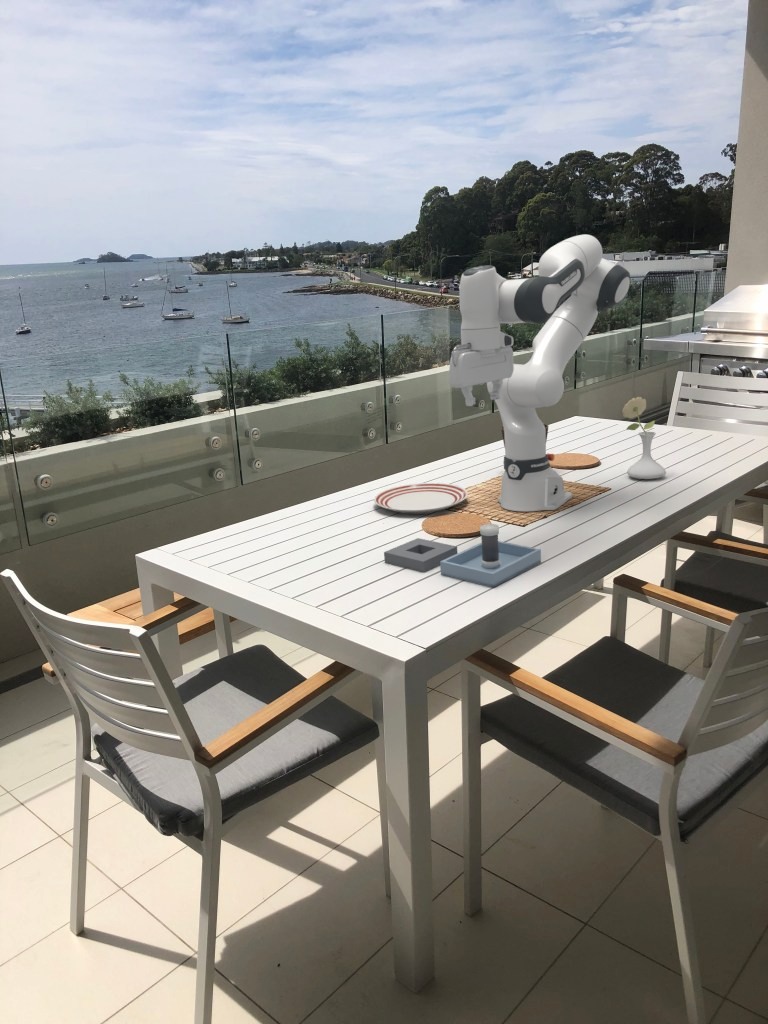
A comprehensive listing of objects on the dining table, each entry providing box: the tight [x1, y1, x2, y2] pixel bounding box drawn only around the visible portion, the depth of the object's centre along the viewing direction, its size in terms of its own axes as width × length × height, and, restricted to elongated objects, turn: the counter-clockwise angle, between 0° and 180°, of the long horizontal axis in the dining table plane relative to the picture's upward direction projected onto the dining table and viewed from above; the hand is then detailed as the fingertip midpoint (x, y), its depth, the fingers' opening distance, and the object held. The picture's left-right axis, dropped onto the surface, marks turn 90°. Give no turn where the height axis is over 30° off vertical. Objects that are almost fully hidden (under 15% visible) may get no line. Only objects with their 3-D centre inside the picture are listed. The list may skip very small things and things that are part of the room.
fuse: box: [479, 523, 500, 569], centre depth 166 cm, size 4×4×9 cm
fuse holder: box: [383, 537, 458, 573], centre depth 176 cm, size 12×12×2 cm
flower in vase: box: [621, 396, 667, 480], centre depth 229 cm, size 13×11×25 cm
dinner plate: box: [373, 482, 469, 515], centre depth 221 cm, size 27×27×3 cm
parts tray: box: [439, 540, 542, 589], centre depth 167 cm, size 18×14×3 cm
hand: (483, 402), depth 175 cm, fingers open, 8 cm apart
